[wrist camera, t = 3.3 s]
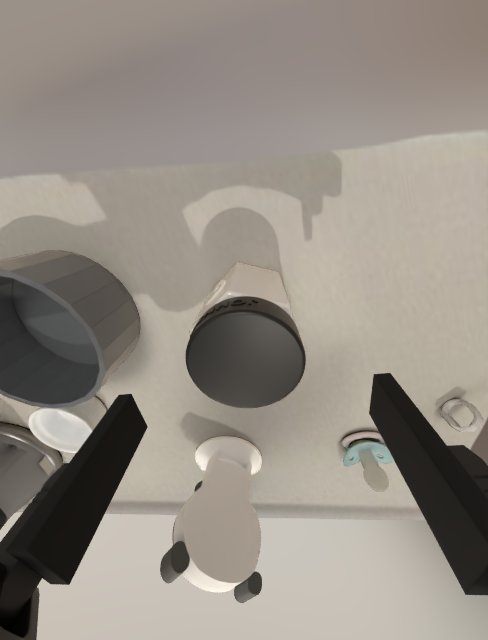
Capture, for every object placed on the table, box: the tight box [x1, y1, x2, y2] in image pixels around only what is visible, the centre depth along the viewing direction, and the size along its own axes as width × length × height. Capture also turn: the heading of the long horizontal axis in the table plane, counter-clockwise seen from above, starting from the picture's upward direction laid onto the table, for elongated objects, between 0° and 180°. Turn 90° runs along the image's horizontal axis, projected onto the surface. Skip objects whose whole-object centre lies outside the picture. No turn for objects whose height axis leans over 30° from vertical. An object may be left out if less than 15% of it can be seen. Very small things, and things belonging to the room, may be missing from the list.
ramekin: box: [28, 396, 107, 453], centre depth 33 cm, size 9×9×4 cm
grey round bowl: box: [0, 250, 140, 409], centre depth 25 cm, size 15×15×8 cm
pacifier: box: [342, 432, 394, 492], centre depth 33 cm, size 7×6×6 cm
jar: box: [186, 262, 306, 408], centre depth 21 cm, size 9×8×12 cm
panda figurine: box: [160, 436, 262, 603], centre depth 32 cm, size 12×11×15 cm
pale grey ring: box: [440, 399, 484, 432], centre depth 30 cm, size 4×2×4 cm, turn 146°
